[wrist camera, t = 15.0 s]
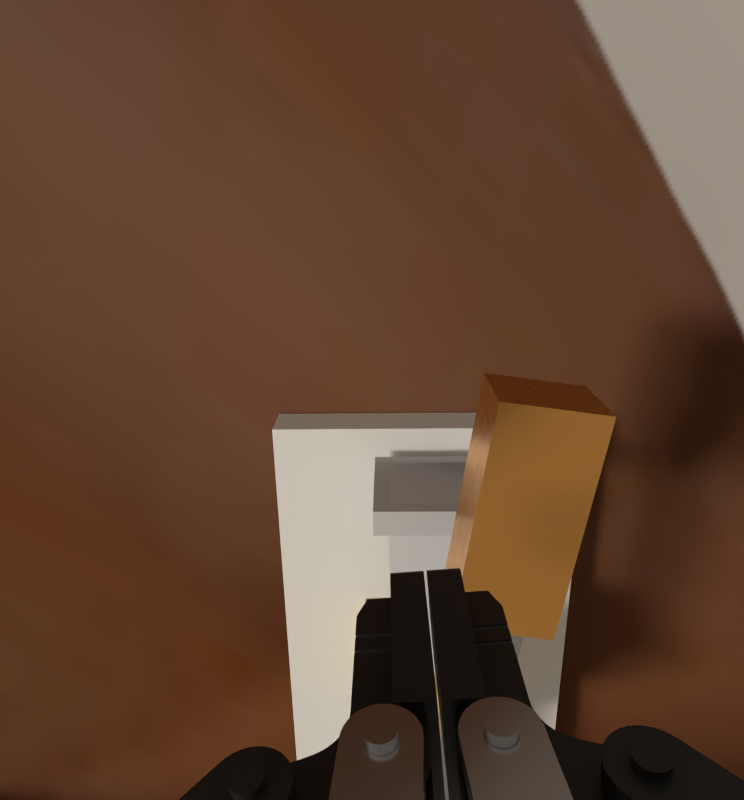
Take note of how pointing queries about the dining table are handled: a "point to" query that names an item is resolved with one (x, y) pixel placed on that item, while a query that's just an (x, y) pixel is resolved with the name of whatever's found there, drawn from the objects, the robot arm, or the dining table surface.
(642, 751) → the robot arm
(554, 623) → the lever
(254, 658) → the dining table surface
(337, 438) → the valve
